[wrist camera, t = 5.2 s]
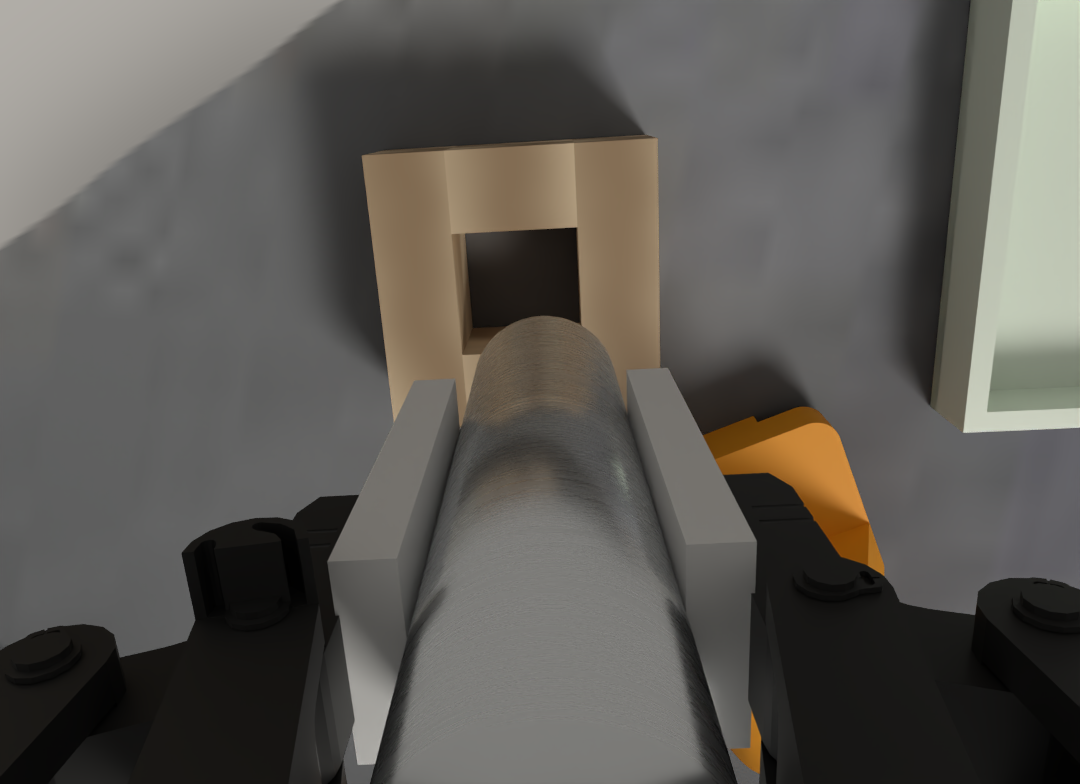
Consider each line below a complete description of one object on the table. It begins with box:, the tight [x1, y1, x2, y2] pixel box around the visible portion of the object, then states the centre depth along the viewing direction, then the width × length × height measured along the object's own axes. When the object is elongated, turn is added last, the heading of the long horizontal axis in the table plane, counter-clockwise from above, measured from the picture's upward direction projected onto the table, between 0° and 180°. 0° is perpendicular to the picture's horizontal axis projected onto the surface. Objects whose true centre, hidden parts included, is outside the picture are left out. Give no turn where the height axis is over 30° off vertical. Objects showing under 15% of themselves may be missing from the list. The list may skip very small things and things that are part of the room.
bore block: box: [362, 135, 660, 427], centre depth 31 cm, size 10×10×4 cm
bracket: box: [703, 407, 884, 774], centre depth 31 cm, size 11×7×12 cm, turn 113°
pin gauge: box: [370, 316, 737, 784], centre depth 13 cm, size 3×3×13 cm
